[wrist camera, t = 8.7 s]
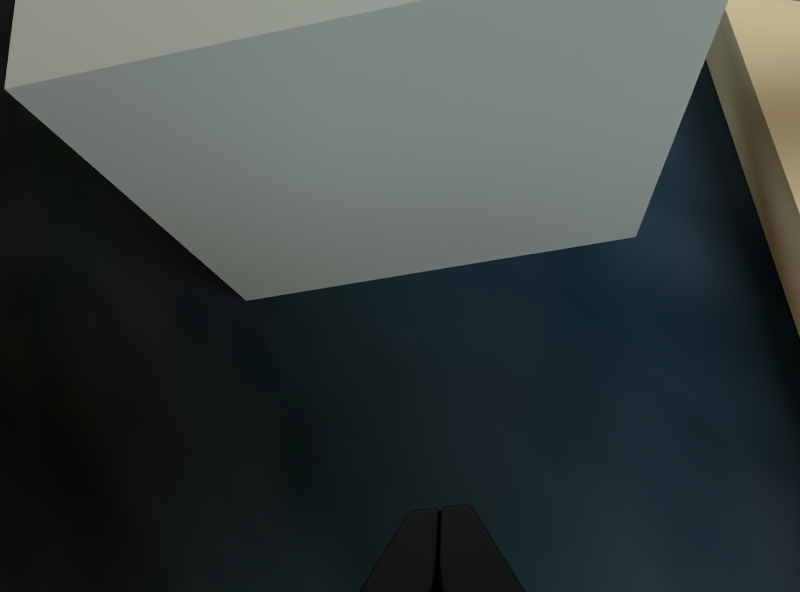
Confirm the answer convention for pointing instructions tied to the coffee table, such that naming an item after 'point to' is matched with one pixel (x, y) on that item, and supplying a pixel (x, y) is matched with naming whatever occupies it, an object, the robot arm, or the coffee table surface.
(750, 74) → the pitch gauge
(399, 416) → the coffee table surface
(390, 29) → the block
